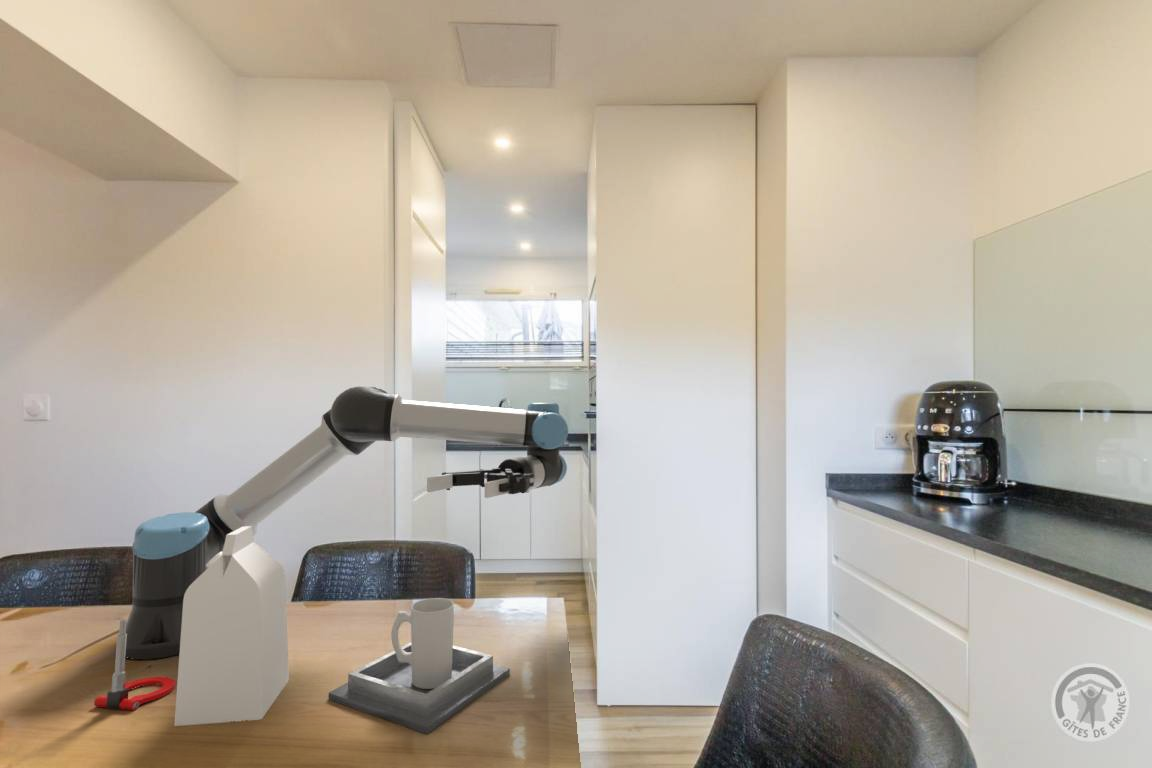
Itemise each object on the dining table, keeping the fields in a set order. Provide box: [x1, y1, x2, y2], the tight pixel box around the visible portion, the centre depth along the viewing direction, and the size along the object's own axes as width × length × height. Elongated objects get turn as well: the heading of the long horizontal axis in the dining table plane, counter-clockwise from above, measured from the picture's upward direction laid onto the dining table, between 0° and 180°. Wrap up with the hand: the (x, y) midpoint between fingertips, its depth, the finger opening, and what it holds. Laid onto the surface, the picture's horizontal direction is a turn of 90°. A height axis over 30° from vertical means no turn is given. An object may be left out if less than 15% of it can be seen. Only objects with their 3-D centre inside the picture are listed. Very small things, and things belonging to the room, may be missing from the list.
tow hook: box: [93, 618, 176, 711], centre depth 91 cm, size 8×13×9 cm
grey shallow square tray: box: [327, 641, 511, 735], centre depth 94 cm, size 20×20×4 cm
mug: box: [390, 597, 455, 689], centre depth 94 cm, size 10×7×12 cm, turn 88°
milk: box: [173, 526, 290, 727], centre depth 89 cm, size 12×12×26 cm
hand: (456, 487), depth 108 cm, fingers open, 13 cm apart
